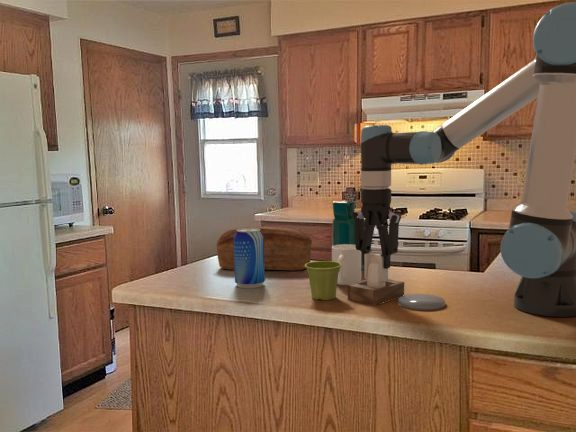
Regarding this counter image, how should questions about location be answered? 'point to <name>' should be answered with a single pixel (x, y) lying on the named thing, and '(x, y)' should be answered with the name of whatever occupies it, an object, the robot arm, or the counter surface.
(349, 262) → the mug
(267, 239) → the bread
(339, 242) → the teal bottle
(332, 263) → the plant pot
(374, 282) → the salt shaker
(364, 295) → the pocket block
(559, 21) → the robot arm
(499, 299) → the counter surface
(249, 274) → the beer can
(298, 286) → the counter surface
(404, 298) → the grey plate
